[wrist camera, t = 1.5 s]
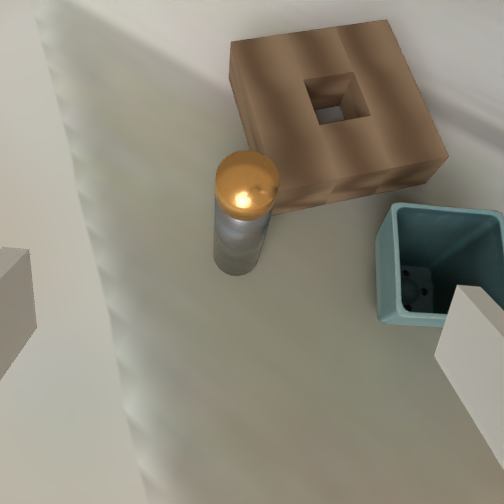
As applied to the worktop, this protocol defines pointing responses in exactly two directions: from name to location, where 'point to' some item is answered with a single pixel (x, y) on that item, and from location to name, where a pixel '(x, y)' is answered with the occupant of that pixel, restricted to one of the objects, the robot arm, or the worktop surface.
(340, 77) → the block
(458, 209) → the flower pot
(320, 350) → the worktop surface
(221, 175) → the metal pin
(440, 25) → the worktop surface
